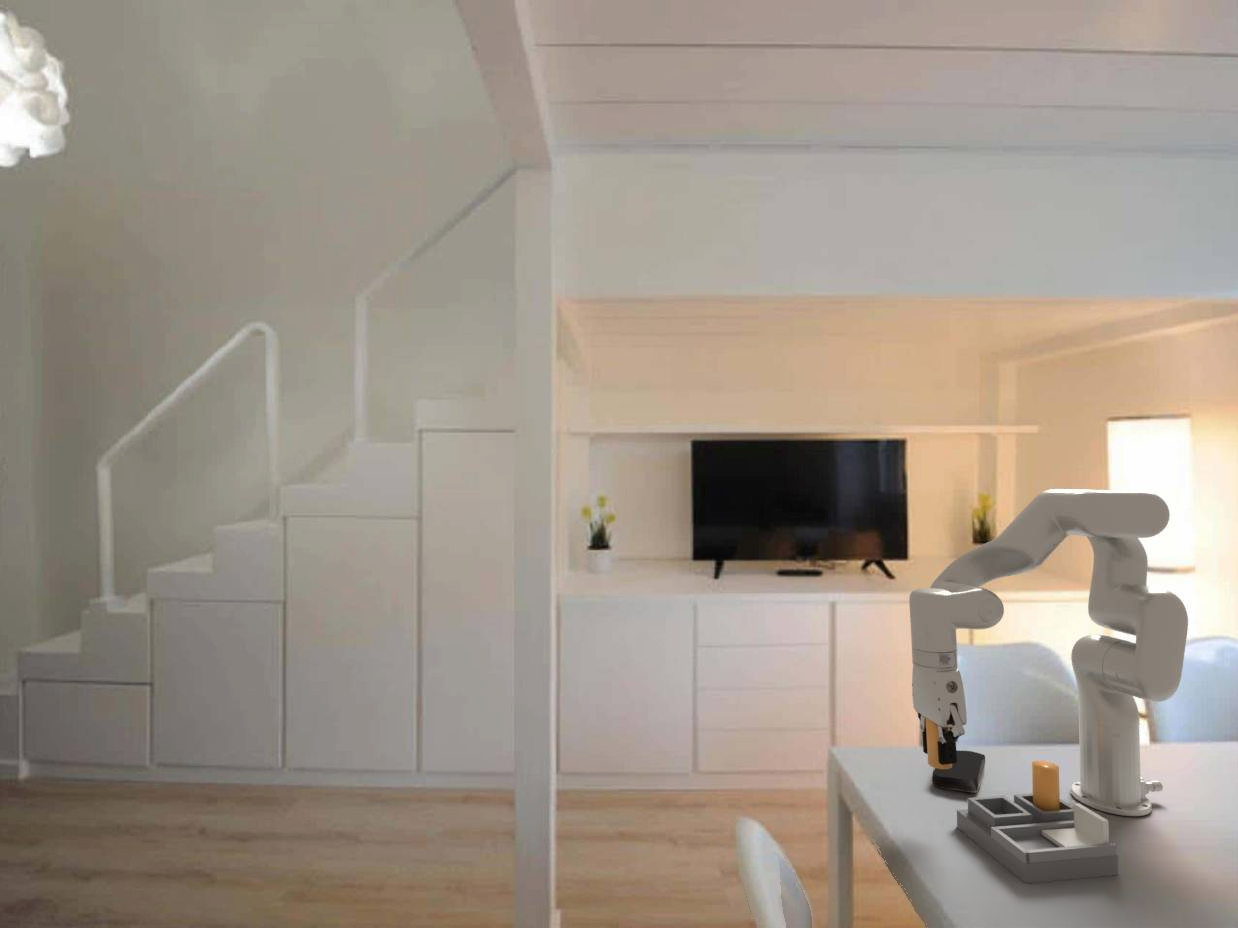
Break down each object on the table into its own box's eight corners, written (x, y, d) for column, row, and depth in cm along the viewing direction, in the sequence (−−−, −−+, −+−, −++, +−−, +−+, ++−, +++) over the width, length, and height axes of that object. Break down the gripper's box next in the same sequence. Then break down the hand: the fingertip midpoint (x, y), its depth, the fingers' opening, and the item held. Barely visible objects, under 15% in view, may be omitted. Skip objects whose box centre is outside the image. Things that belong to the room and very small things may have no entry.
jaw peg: (943, 758, 125) (941, 710, 125) (957, 767, 121) (954, 717, 121) (923, 760, 124) (920, 712, 124) (936, 770, 120) (933, 719, 120)
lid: (1079, 831, 113) (1079, 803, 113) (1109, 850, 107) (1108, 820, 107) (1041, 834, 112) (1041, 806, 112) (1069, 853, 106) (1068, 823, 106)
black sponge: (977, 800, 131) (977, 781, 131) (930, 789, 136) (930, 771, 136) (986, 770, 145) (986, 753, 145) (943, 761, 150) (943, 744, 150)
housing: (1045, 819, 123) (1044, 753, 123) (1126, 873, 106) (1125, 797, 107) (957, 826, 121) (955, 759, 121) (1025, 883, 104) (1024, 805, 104)
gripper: (983, 668, 115) (989, 776, 115) (927, 644, 131) (931, 738, 131) (943, 672, 114) (948, 780, 114) (891, 647, 130) (895, 741, 130)
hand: (939, 756), depth 122 cm, fingers closed on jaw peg, 4 cm apart
